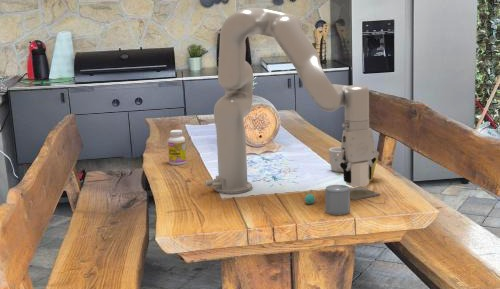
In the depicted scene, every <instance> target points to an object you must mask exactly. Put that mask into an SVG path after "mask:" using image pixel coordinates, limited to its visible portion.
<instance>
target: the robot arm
mask: <svg viewBox="0 0 500 289" xmlns="http://www.w3.org/2000/svg"><path fill="white" fill-rule="evenodd" d="M303 27H304V26H303V23H302V21H301V19H300V18H299V17H298V16H297V15H295V14H291V13H285V12H281V11H276V10H272V9H268V8H267V9H266V8H262V7H247V8H243V9H239V10H238V11H237V10H236V12H233V13H231V14H230V15H229V16H228V17H227V18H226V19H225V20H224V22H223V23H222V26H221V28H220V34H219V52H218V66H217V67H218V69H217V70H218V71H217V79H218V83H219V86H220V87H221V89H223V90H224V91H225V93H224V95H223V96H221V97H220V98H219V99H218V100H217V102H215V104H214V108H213V118H214V119H213V120H214V125H215V129H216V130H215V132H216V146H217V169H218V172H217V173H218V175H216V176H215V178H214V179H212V180H211V179H210V180H205V181H204V185H205V187H212V188H214V190H215V191H216V192H217V193H220V194H230V195H231V194H243V193H246V192H249V191H251V190H252V189H253V184H252V183H251V182H249V181H248V163H247V162H248V160H247V138H246V136H247V135H246V129H245V121H244V118H245V117H247V116H248V115H249V114H250V112H251V110H252V107H253V106H252V105H253V94H254V93H253V92H254V90H253V88H254V73H253V72H254V71H253V68H252V66H251V64H250V63H249V62H248V61H246V52H247V44H246V39H247V38H248V37H250V36H255V35H261V36H265V37H271V38H274V40H275V41H276V43H277V45H278V46H279V47H280V48H281V50H282V51H283V53H284V54H285V55H286V57H287V58H288V60H289V61H290V63H291V64H292V66H293V67H294V69H295V71H296V74H297V75H298V76H299V79H300V81H301V83H302V84H303V86H304V88H305V90H306V92H307V93H308V94H309V96H310V97H311V99H312V100H313V101H314V103H315V104H316V106H317V107H318V108H320V110H321V111H324V112H326V113H333V112H335V111H337V110H338V109H339V108H341V107H344V122H343V123H342V124H341V128H344V129H343V131H342V137H341V145H340V147H341V152H340V154H339V155H338V156H337V157H336V158H335V161H336V162H337V163H338V164H339V166H340V167H341V168H342V169H343V172H342V173H343V181H344V182H345V183H346V182H348V183H351V171H350V170H349V169H350V167H351V163H355V162H362V161H368V162H369V179H371V167H372V166H373V163H374V162H375V161H376V158H377V157H378V158H379V155H380V152H379V151H378V150H377V149H375V140H374V134H373V130H372V128H371V127H370V89H369V87H368V86H366V85H363V84H362V85H361V84H353V85H344V84H336V83H333V84H332V82H331V81H330V80H329V78H328V77H327V75H326V73H325V72H324V70H323V68H322V65H321V60H320V55H319V52H318V51H317V49H316V48H315V47H314V44H312V42H311V41H310V39H309V38H308V37H307V36H306V33H304V31H303ZM342 160H344V162H342ZM347 162H348V163H347Z"/></svg>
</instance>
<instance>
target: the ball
mask: <svg viewBox="0 0 500 289" xmlns="http://www.w3.org/2000/svg"><path fill="white" fill-rule="evenodd" d="M315 200H316V198H315V196H314V195H313V194H312V193H308V194H306V195H305V197H304V201H305V203H306V204H308V205H313V203H315Z"/></svg>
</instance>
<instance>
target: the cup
mask: <svg viewBox="0 0 500 289" xmlns="http://www.w3.org/2000/svg"><path fill="white" fill-rule="evenodd" d="M328 152H329V153H328V154H329V163H330V168H331V170H332V171H333V172H335V173H336V172H337V173H343V169H342V168H341V167H340V166H339V164H338V163H337V162H336V161H335V158H336V157H337V156H338V155H339V154H340V152H341V146H334V147H330V148H329V149H328ZM342 162H344V160H342Z"/></svg>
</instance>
